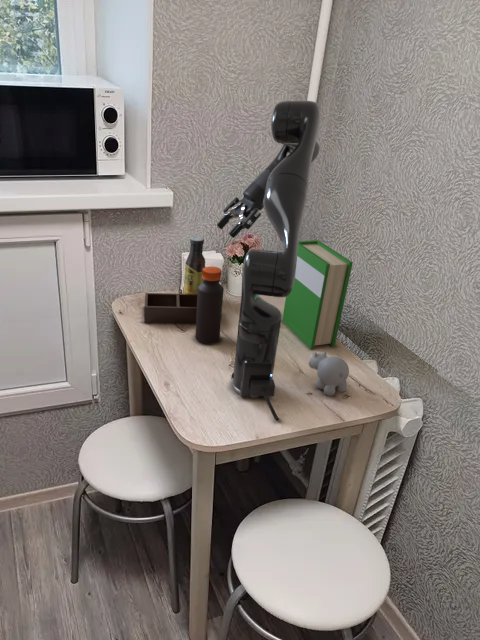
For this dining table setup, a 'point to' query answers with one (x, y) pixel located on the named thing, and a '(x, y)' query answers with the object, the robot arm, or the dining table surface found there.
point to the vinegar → (209, 306)
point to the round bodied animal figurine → (330, 372)
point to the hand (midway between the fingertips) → (224, 231)
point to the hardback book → (317, 293)
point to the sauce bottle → (194, 266)
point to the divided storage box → (170, 308)
